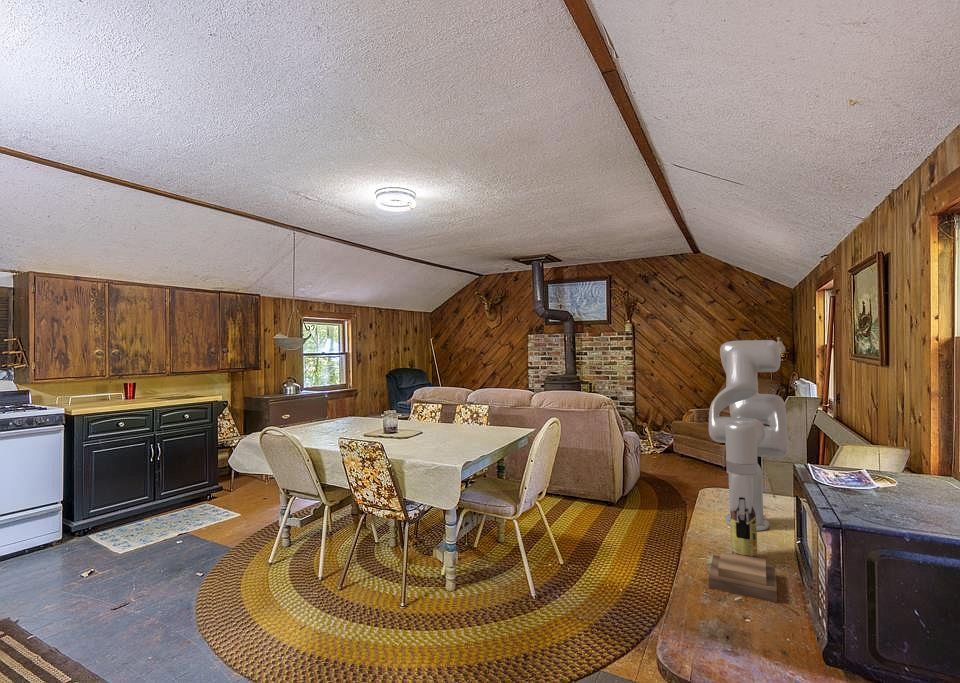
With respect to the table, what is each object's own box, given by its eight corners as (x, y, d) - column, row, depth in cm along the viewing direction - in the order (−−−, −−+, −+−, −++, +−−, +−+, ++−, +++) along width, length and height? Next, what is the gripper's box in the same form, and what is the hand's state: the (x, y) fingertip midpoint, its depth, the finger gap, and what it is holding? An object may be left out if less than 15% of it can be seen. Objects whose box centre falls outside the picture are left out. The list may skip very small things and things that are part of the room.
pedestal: (713, 564, 128) (713, 547, 128) (775, 575, 121) (774, 557, 121) (708, 588, 116) (708, 569, 116) (777, 602, 109) (776, 582, 109)
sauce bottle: (759, 564, 127) (757, 489, 127) (733, 561, 130) (731, 487, 130) (755, 553, 134) (753, 482, 134) (729, 551, 136) (727, 480, 136)
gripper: (728, 459, 141) (729, 519, 141) (724, 474, 126) (726, 542, 126) (757, 462, 137) (759, 524, 137) (757, 477, 122) (759, 547, 122)
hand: (743, 532), depth 132 cm, fingers open, 7 cm apart
